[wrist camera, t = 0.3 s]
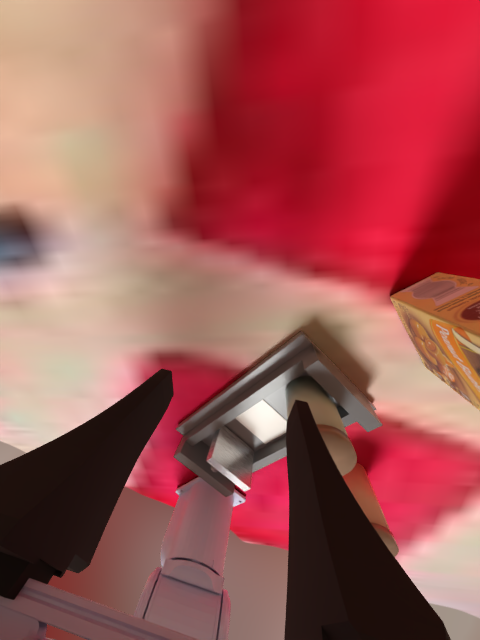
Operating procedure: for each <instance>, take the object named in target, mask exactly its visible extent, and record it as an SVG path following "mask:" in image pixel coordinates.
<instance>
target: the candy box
mask: <svg viewBox="0 0 480 640" xmlns="http://www.w3.org/2000/svg"><path fill="white" fill-rule="evenodd" d="M390 298H391V300H392V303H393V305H394V307H395V309H396V311H397V313H398V315H399V317H400V319H401V321H402V323H403V325H404V327H405V329H406V331H407V333H408V335H409V337H410V339H411V340H412V342H413V344H414V346H415V348H416V350H417V352H418V354H419V356H420V358H421V360H422V362H423V364H424V366H425V367H426V368H427V369H428V370H429V371H431V372H432V373H433V374H434V375H436V376H437V377H438V378H440V379H441V380H442V381H443V382H445V383H446V384H447V385H448V386H450V387H451V388H452V389H453V390H455V391H456V392H457V393H458V394H460V395H461V396H462V397H463V398H465V399H466V400H467V401H468V402H470V403H471V404H472V405H473V406H475V407H476V408H477V409H478V410H480V279H476V278H470V277H463V276H457V275H451V274H445V273H440V272H437V273H435V274H433V275H431V276H429V277H427V278H425V279H423V280H421V281H419V282H417V283H415V284H413V285H412V286H410V287H408V288H406V289H404V290H401V291H399V292H397V293H395V294H393V295H392V296H390Z"/></svg>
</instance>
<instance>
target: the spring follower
mask: <svg viewBox="0 0 480 640" xmlns="http://www.w3.org/2000/svg"><path fill="white" fill-rule="evenodd" d="M253 458H254V450H253V449H251V448H250V447H249V446H248V445H247V444H246V443H244V442H243V441H242V440H241V439H240V438H238V437H237V436H236V435H235V434H234V433H233V432H231V431H230V430H229V429H228V428H227V427H225V426H222V427H221V428H219V429H218V430H216V431H215V433H214V437H213V440H212V443H211V446H210V450H209V453H208V456H207V459H206V461H207V462H208V463H209V464H210V467H211V470H212V471H213V472H217V471H219V472H221V473H222V474H223V475H224V476H226V477H227V478H228V479H229V480H231V481H232V482H233V483H234V484H236V485H237V486H238V487H239V488H241V489H242V490H243V491H247V490H249V489H251V480H252V469H253Z"/></svg>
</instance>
